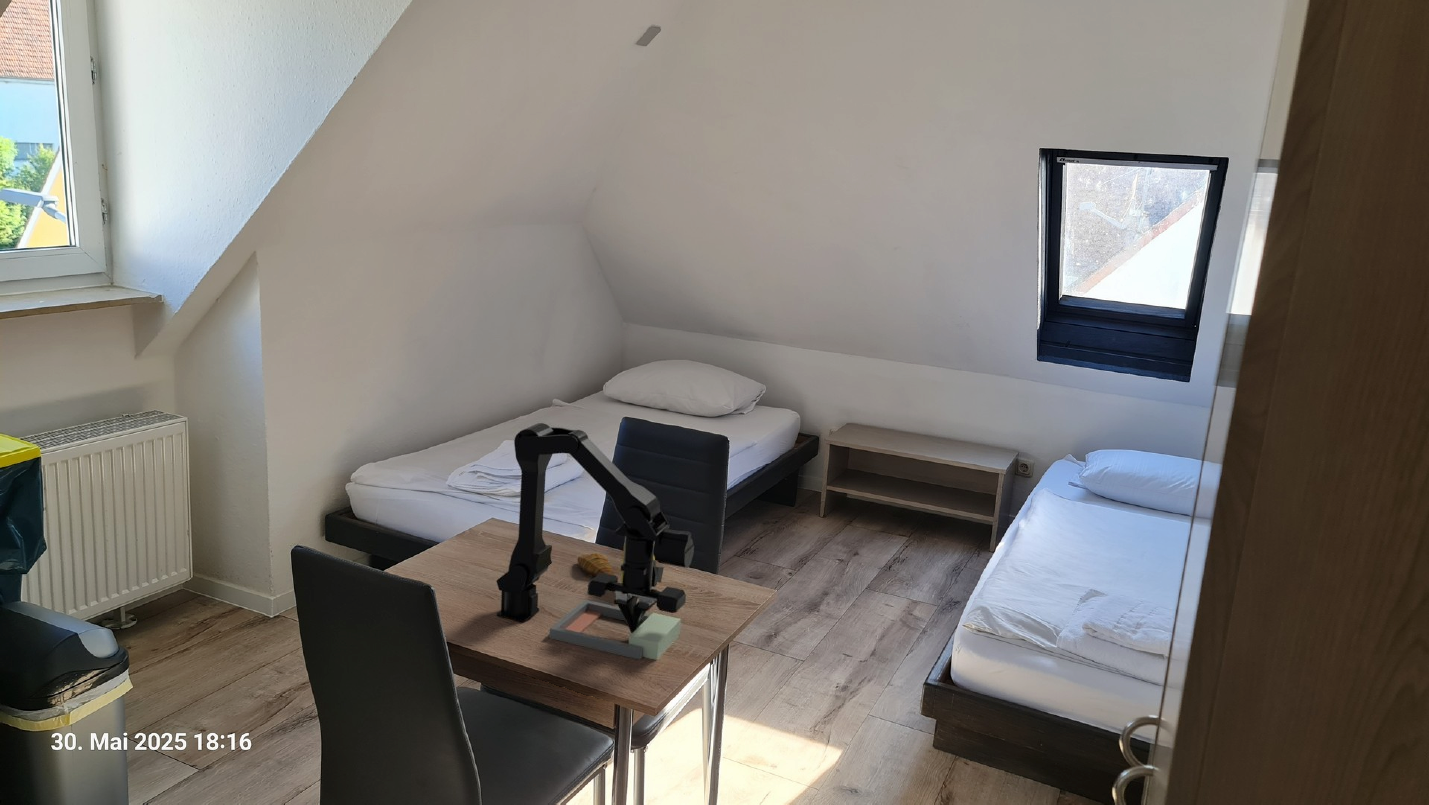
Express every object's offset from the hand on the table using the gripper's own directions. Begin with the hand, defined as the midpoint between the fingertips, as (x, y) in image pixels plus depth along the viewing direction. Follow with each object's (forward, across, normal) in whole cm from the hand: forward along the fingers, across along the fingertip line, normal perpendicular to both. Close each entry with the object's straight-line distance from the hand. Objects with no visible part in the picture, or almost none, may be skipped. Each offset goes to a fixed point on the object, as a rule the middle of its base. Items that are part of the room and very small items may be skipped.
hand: (634, 632), depth 195 cm
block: (+2, -4, 0) cm, 5 cm away
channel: (+1, +4, 0) cm, 4 cm away
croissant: (+2, +21, -26) cm, 34 cm away
